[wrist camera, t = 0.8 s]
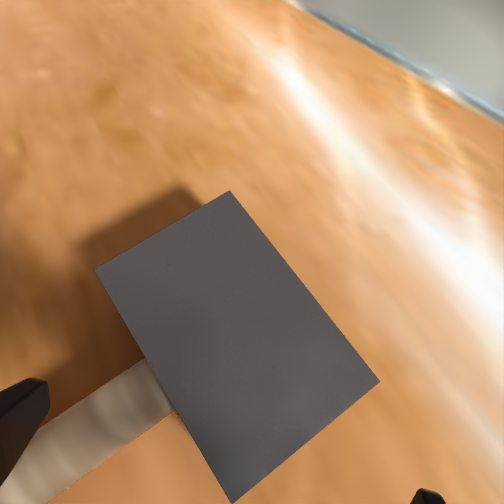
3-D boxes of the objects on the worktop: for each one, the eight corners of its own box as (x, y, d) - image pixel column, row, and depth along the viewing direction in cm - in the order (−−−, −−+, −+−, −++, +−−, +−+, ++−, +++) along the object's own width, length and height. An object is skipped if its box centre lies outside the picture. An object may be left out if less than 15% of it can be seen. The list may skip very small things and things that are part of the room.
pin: (17, 550, 18) (-50, 593, 14) (-18, 461, 20) (-90, 476, 15) (240, 385, 21) (240, 378, 17) (196, 318, 23) (187, 297, 19)
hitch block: (233, 481, 20) (231, 504, 15) (123, 298, 23) (93, 269, 19) (349, 387, 22) (380, 381, 17) (231, 231, 25) (229, 190, 21)
